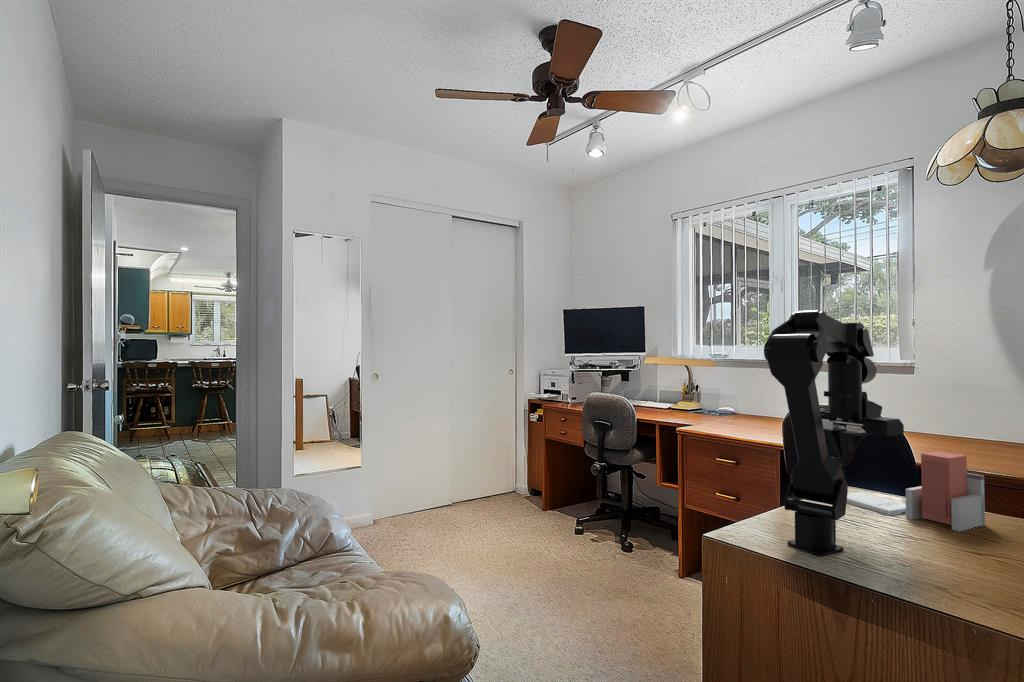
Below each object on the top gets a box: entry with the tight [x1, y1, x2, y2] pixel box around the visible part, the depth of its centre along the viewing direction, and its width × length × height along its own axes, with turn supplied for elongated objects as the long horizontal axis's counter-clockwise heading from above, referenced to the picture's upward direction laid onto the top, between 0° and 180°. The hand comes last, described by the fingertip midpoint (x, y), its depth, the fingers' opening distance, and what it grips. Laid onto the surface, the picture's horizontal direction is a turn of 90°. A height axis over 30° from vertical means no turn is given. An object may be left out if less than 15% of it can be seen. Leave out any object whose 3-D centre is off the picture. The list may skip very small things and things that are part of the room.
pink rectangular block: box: [920, 450, 968, 526], centre depth 109 cm, size 7×5×13 cm
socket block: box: [905, 472, 986, 533], centre depth 109 cm, size 9×9×10 cm
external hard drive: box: [846, 491, 906, 516], centre depth 121 cm, size 2×8×12 cm
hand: (845, 465), depth 107 cm, fingers closed
